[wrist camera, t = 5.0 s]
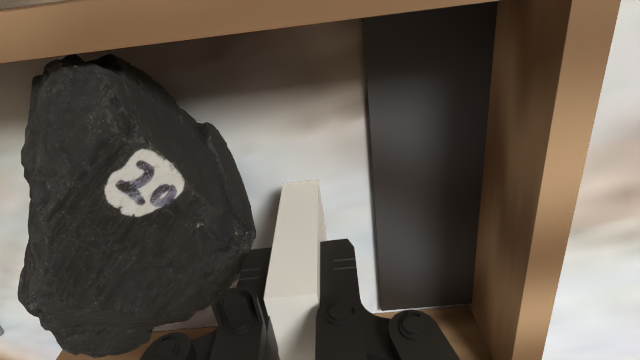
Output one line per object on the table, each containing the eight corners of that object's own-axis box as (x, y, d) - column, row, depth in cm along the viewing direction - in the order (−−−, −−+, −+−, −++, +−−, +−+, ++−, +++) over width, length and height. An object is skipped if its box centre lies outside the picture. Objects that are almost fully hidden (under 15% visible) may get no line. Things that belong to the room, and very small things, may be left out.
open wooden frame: (-121, 25, 15) (-302, 52, 11) (535, -63, 14) (636, -73, 9) (78, 352, 24) (23, 441, 19) (489, 319, 22) (530, 406, 18)
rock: (-35, 362, 16) (-2, 472, 9) (5, 97, 17) (61, 6, 10) (162, 334, 21) (283, 387, 14) (179, 134, 23) (295, 90, 16)
